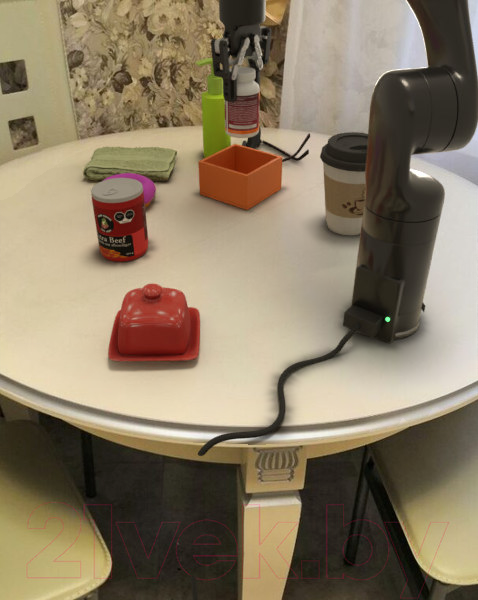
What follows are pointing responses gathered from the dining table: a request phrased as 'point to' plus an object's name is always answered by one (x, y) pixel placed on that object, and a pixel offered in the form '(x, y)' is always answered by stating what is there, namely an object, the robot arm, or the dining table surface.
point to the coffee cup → (345, 181)
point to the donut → (147, 184)
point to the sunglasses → (256, 140)
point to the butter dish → (155, 327)
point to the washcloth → (131, 162)
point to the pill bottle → (243, 106)
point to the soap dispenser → (213, 114)
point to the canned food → (120, 218)
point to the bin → (240, 176)
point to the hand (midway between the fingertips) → (242, 95)
